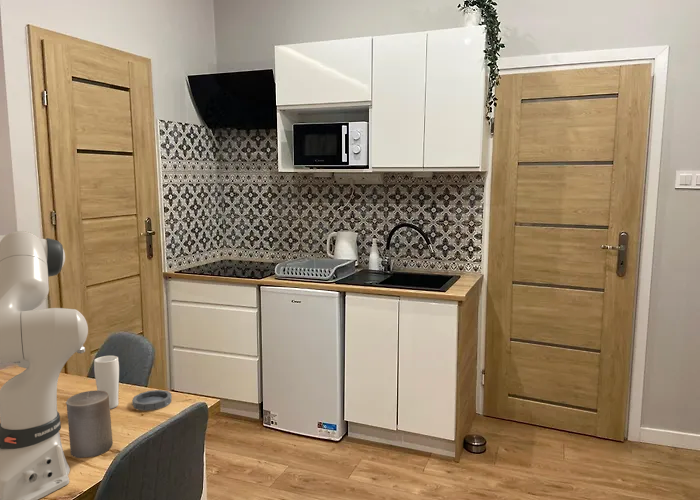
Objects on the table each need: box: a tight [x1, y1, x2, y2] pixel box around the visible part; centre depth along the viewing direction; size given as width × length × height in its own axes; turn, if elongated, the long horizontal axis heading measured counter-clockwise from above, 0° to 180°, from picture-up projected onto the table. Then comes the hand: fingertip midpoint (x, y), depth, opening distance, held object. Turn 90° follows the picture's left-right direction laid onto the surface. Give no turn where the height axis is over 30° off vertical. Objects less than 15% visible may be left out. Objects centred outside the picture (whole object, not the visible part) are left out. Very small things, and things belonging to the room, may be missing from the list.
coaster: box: [131, 389, 172, 412], centre depth 164 cm, size 11×11×2 cm
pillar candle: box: [65, 389, 114, 459], centre depth 135 cm, size 10×10×15 cm
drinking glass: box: [93, 355, 120, 410], centre depth 161 cm, size 7×7×15 cm
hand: (71, 354), depth 164 cm, fingers open, 8 cm apart
